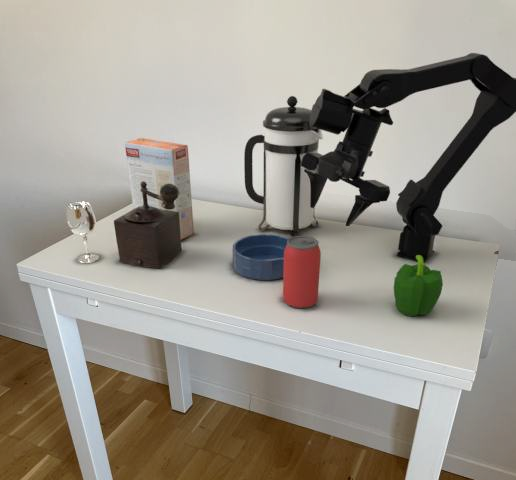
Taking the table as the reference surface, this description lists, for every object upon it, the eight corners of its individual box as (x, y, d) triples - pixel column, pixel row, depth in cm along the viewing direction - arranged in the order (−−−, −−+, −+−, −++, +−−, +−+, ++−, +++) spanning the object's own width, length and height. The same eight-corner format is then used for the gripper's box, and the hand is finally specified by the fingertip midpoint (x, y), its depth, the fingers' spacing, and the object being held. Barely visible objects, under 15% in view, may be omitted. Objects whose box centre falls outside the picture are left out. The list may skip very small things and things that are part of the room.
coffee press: (310, 214, 141) (317, 89, 125) (325, 238, 128) (334, 101, 111) (244, 218, 139) (242, 91, 123) (252, 242, 126) (251, 103, 109)
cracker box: (195, 234, 130) (189, 144, 119) (179, 242, 126) (171, 149, 114) (151, 222, 136) (141, 136, 125) (135, 230, 132) (123, 141, 121)
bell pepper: (433, 325, 94) (444, 274, 89) (386, 316, 97) (394, 265, 92) (439, 304, 101) (449, 254, 95) (395, 296, 104) (403, 247, 98)
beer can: (322, 306, 100) (327, 246, 94) (289, 311, 99) (291, 250, 92) (310, 290, 105) (313, 232, 99) (278, 295, 104) (279, 236, 97)
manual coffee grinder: (116, 263, 116) (102, 179, 106) (143, 244, 125) (133, 165, 115) (180, 275, 111) (172, 188, 101) (203, 254, 120) (198, 173, 110)
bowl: (309, 263, 116) (310, 243, 114) (274, 287, 107) (274, 266, 104) (257, 248, 123) (257, 229, 120) (219, 269, 113) (219, 250, 111)
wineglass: (107, 256, 119) (98, 203, 113) (90, 266, 115) (80, 211, 108) (87, 251, 121) (77, 199, 115) (69, 261, 117) (58, 207, 110)
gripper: (298, 121, 102) (273, 199, 110) (379, 158, 94) (346, 239, 102) (328, 125, 111) (303, 198, 118) (405, 159, 103) (373, 235, 110)
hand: (329, 216), depth 112 cm, fingers open, 9 cm apart
